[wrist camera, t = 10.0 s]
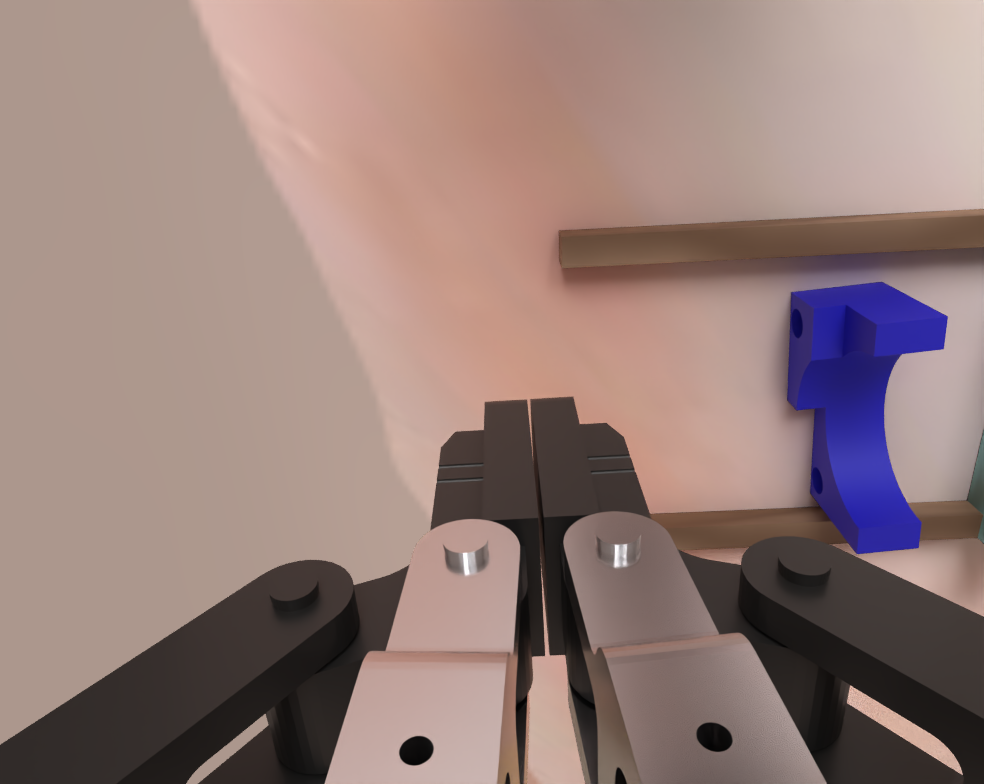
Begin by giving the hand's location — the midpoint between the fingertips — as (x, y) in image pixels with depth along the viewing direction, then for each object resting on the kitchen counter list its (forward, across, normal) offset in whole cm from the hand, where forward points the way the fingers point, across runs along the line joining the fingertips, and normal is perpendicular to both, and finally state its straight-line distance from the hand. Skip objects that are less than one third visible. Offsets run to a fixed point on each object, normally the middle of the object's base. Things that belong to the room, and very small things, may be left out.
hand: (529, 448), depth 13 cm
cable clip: (+25, -17, +12) cm, 32 cm away
